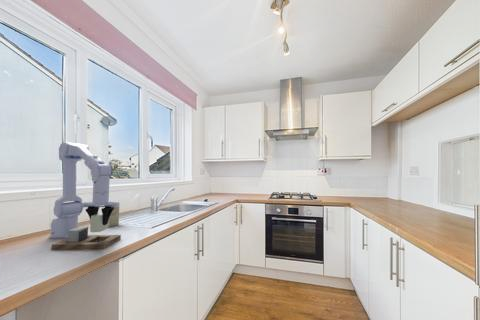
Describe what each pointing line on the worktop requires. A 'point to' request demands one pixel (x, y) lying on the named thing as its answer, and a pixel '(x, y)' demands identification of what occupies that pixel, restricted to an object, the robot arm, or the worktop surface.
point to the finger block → (97, 223)
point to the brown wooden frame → (88, 243)
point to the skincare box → (114, 217)
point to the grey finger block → (77, 234)
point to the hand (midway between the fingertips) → (99, 224)
